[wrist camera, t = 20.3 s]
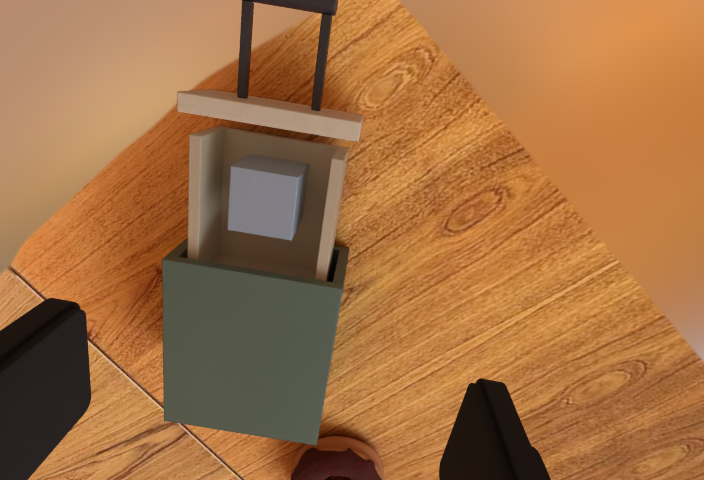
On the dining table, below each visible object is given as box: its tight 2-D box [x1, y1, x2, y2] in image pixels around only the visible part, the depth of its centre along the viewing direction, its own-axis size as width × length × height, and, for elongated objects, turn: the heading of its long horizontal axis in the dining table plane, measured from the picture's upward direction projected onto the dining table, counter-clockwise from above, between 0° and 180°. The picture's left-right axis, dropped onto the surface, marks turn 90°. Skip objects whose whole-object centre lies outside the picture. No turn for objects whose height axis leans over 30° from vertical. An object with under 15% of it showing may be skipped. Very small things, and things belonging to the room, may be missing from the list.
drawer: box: [177, 0, 363, 282], centre depth 29 cm, size 21×11×6 cm, turn 171°
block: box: [228, 154, 309, 240], centre depth 30 cm, size 4×4×4 cm
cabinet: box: [162, 238, 349, 445], centre depth 35 cm, size 15×13×8 cm
